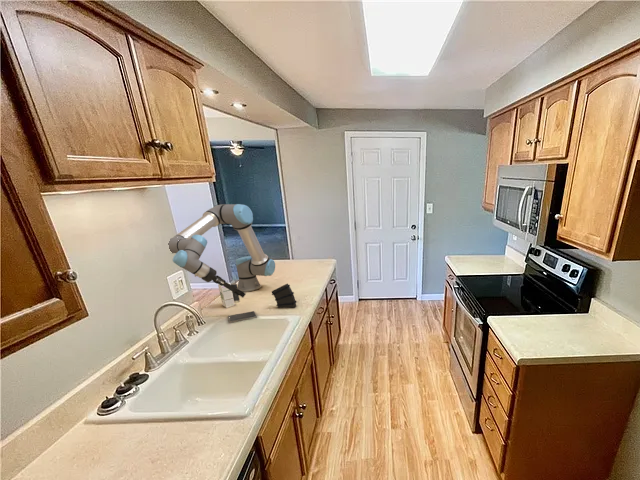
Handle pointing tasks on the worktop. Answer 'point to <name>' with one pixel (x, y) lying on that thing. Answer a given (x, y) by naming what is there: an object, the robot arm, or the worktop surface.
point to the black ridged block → (284, 297)
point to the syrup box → (226, 296)
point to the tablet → (242, 316)
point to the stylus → (235, 296)
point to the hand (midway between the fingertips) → (242, 294)
